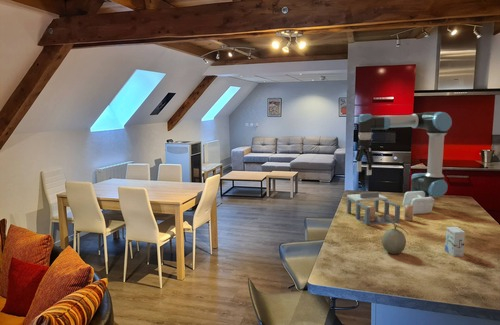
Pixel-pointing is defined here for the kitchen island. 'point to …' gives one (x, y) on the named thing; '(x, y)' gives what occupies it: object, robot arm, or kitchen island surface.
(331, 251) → the kitchen island surface
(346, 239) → the kitchen island surface
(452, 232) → the ink box
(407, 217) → the pink rounded capsule
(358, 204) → the housing
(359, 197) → the lid
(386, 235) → the fruit
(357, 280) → the kitchen island surface
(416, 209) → the cable organizer
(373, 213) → the seated rounded capsule
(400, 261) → the kitchen island surface
